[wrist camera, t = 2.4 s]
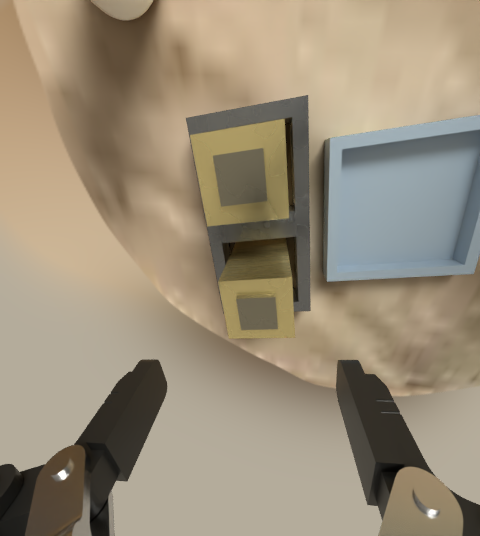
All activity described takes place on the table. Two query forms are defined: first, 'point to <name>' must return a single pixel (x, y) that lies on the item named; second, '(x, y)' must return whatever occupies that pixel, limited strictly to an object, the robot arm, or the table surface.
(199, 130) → the frame
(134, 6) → the white tapered cylinder
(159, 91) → the table surface
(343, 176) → the parts tray
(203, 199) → the square peg
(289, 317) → the gold square peg
